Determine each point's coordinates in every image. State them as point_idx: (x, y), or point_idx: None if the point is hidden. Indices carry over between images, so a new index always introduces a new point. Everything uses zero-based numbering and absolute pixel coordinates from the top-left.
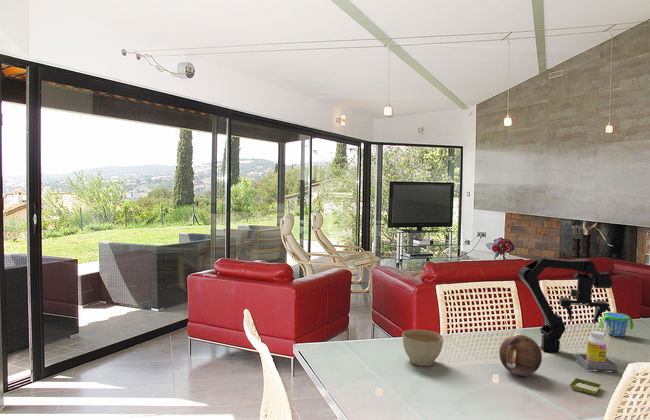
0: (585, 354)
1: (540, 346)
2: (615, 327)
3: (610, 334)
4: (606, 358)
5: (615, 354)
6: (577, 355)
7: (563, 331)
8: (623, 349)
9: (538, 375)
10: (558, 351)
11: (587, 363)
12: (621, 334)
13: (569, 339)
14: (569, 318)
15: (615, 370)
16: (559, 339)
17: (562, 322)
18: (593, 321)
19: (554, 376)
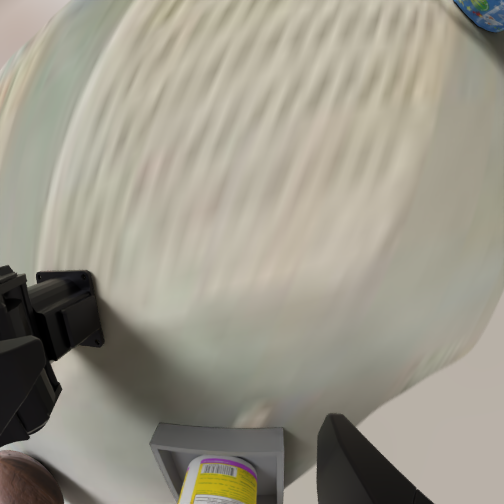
0: (190, 451)
1: (38, 275)
2: (495, 7)
3: (461, 6)
4: (277, 471)
5: (413, 293)
6: (154, 452)
7: (48, 404)
8: (480, 191)
9: (70, 480)
10: (97, 339)
11: (177, 502)
12: (497, 29)
13: (237, 54)
14: (7, 343)
15: (275, 496)
16: (61, 388)
17: (5, 440)
18: (332, 431)
19: (99, 491)
